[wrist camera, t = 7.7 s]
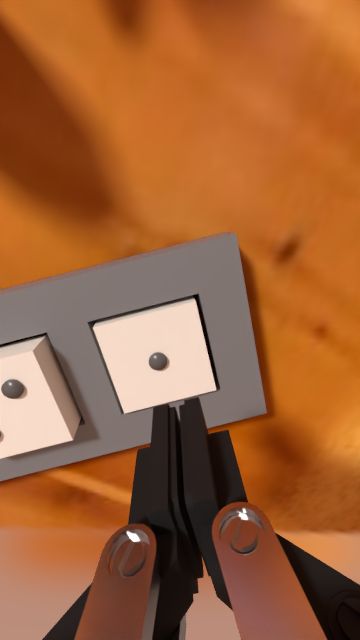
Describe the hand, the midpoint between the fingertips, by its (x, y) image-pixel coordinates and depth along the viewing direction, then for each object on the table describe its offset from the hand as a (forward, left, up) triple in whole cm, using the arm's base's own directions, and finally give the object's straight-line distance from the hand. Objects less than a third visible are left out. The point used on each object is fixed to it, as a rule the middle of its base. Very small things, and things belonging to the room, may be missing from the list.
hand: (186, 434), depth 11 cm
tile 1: (+1, 0, -10) cm, 10 cm away
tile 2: (+10, 0, -8) cm, 13 cm away
